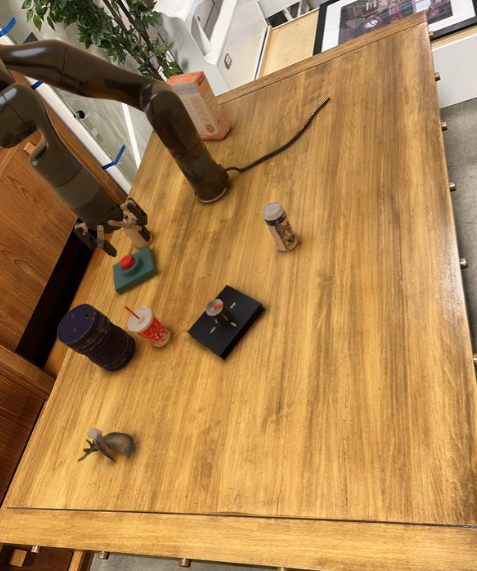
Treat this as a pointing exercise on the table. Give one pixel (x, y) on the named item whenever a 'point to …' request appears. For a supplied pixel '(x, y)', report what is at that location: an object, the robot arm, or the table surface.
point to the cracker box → (200, 104)
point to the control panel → (230, 334)
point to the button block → (135, 270)
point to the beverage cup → (148, 326)
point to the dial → (218, 312)
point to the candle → (135, 236)
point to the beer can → (279, 226)
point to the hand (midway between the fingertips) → (131, 246)
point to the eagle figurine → (109, 444)
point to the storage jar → (96, 338)
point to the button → (127, 262)
